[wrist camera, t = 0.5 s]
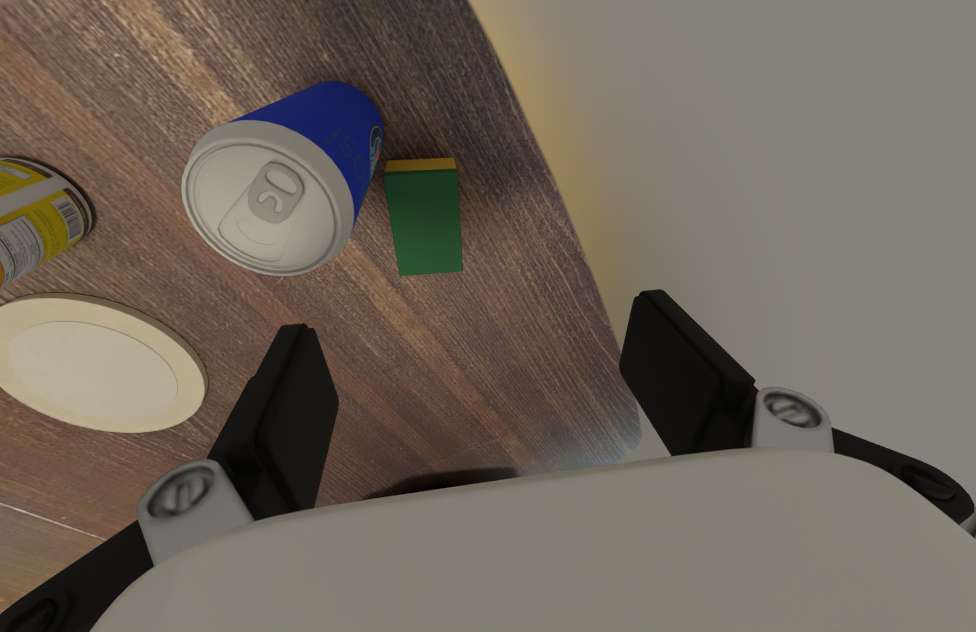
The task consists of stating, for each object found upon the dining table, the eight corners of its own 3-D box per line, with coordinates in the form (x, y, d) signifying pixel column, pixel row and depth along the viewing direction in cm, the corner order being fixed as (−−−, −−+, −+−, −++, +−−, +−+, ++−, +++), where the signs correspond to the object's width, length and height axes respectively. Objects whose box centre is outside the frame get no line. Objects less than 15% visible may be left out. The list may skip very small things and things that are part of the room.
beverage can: (359, 185, 26) (306, 306, 14) (284, 134, 24) (146, 229, 12) (400, 120, 25) (379, 200, 13) (324, 58, 22) (206, 82, 10)
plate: (-75, 301, 27) (-88, 308, 26) (155, 284, 29) (148, 290, 28) (65, 434, 36) (58, 442, 35) (235, 416, 37) (232, 423, 37)
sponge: (386, 160, 26) (382, 175, 23) (453, 157, 26) (457, 171, 23) (401, 254, 30) (399, 276, 27) (459, 250, 30) (463, 271, 28)
